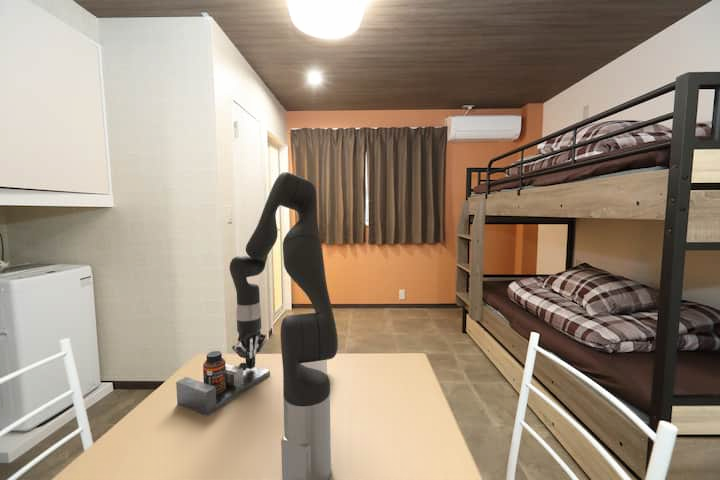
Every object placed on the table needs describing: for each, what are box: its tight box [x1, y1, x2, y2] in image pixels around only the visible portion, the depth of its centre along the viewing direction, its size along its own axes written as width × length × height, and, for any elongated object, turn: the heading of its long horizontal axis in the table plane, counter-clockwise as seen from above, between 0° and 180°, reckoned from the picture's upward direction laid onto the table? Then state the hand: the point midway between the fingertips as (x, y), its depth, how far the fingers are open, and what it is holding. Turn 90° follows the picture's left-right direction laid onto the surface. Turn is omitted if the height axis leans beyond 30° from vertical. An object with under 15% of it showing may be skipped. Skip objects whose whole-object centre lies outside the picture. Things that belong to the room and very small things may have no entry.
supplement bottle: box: [202, 350, 226, 395], centre depth 94 cm, size 6×6×11 cm
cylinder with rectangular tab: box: [300, 360, 328, 376], centre depth 106 cm, size 9×9×12 cm
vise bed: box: [175, 364, 271, 417], centre depth 98 cm, size 24×12×6 cm, turn 154°
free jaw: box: [225, 361, 247, 388], centre depth 101 cm, size 9×9×5 cm
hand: (250, 367), depth 107 cm, fingers closed
